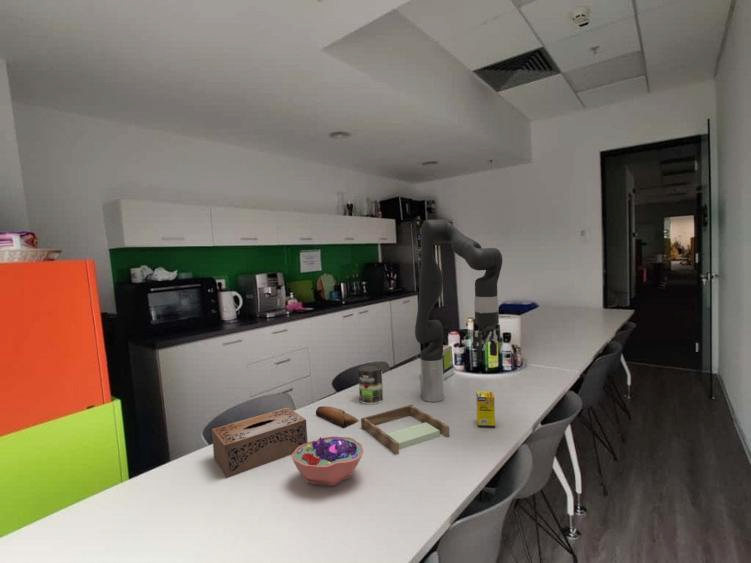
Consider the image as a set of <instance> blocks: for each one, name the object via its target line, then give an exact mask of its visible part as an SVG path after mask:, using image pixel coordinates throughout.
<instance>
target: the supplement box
mask: <svg viewBox="0 0 751 563" xmlns="http://www.w3.org/2000/svg"><path fill="white" fill-rule="evenodd" d="M475 396H476V397H475V398H476V401H475V402H476V422H477V428H491V429H492V428H496V416H495V415H496V412H495V411H496V410H495V408H496V407H495V394H494V391H484V390H483V391H482V390H481V391H480V390H479V391H478V390H476V392H475Z"/></svg>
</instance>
